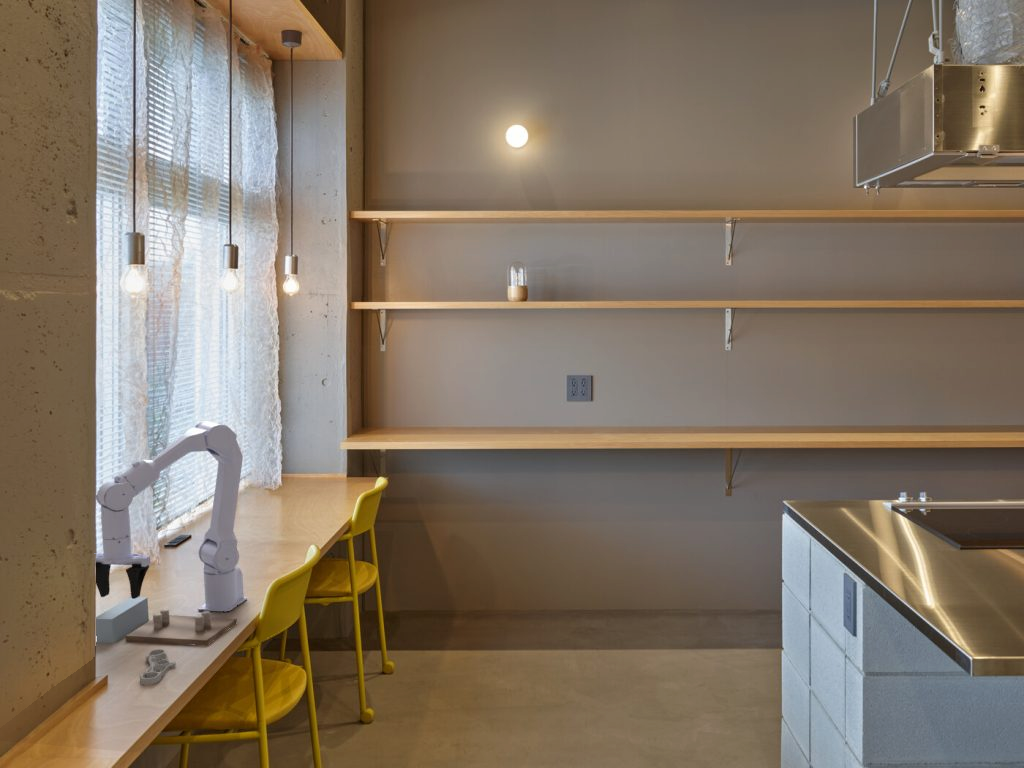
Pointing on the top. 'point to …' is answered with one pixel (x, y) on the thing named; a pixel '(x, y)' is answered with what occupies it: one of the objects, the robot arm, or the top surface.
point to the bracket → (156, 667)
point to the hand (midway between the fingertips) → (120, 596)
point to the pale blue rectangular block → (121, 619)
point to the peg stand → (181, 629)
